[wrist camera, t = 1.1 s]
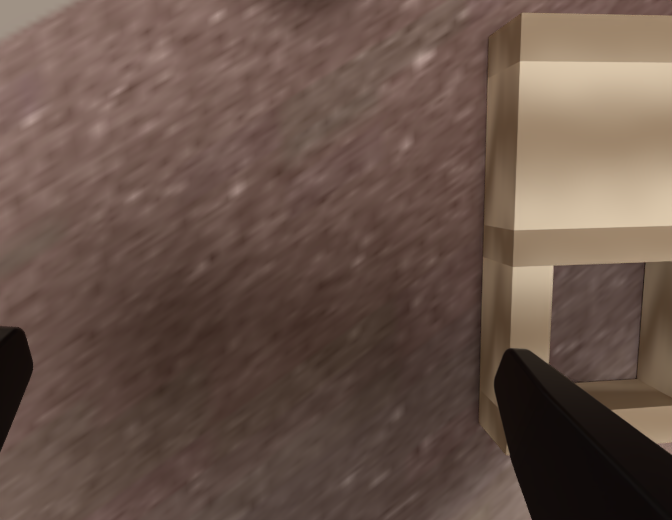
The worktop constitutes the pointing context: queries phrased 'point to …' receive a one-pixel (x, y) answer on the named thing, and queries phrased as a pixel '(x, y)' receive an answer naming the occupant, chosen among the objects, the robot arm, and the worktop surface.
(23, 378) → the robot arm
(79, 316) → the worktop surface
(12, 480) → the worktop surface
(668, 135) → the socket board
